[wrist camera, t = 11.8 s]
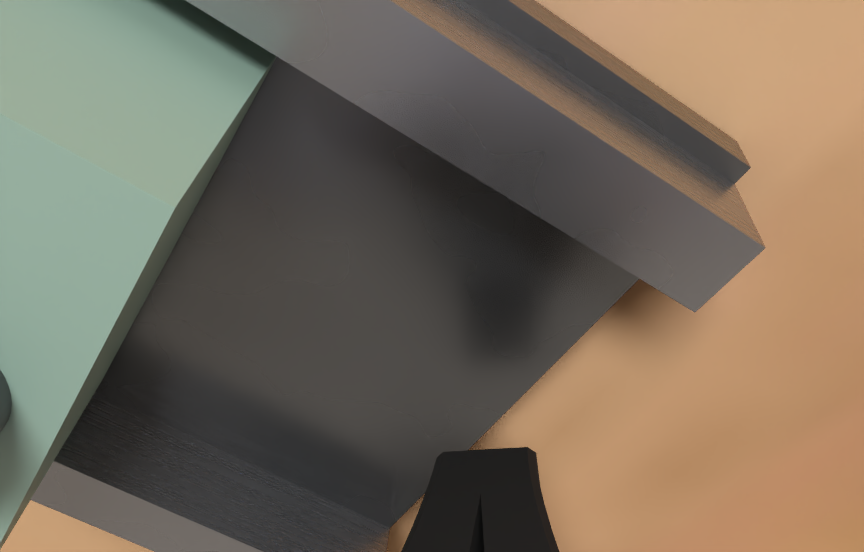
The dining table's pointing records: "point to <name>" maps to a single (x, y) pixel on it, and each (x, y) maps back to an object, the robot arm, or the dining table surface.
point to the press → (390, 269)
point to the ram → (96, 193)
